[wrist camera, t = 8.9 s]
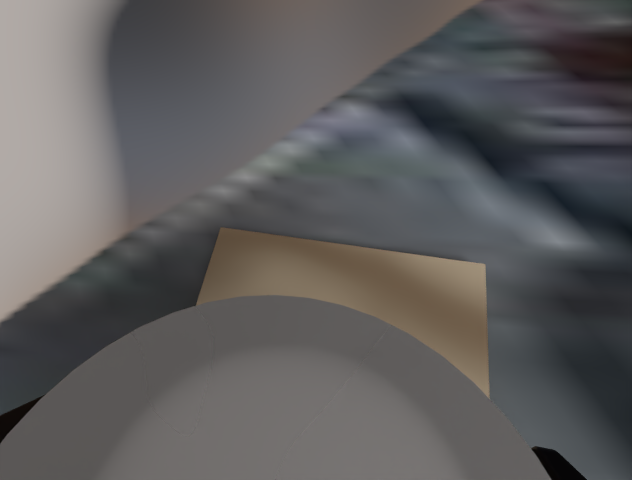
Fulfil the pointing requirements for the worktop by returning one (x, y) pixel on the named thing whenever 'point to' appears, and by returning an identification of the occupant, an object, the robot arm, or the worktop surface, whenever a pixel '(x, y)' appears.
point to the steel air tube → (267, 404)
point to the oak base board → (363, 288)
